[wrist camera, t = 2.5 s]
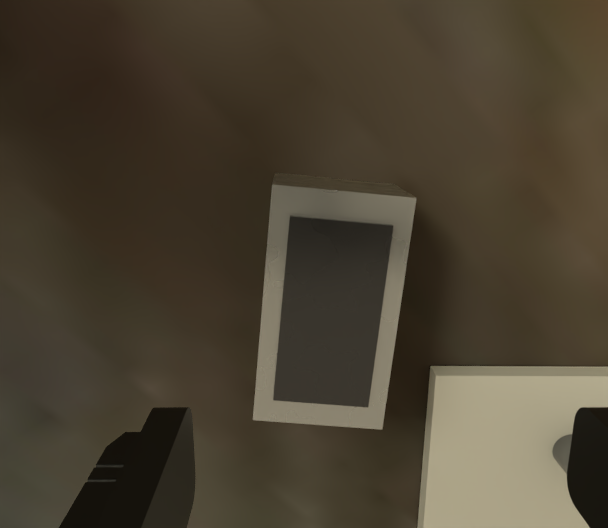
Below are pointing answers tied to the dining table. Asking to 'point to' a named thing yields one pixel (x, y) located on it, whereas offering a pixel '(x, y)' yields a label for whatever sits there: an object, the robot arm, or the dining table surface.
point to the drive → (331, 300)
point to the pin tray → (503, 445)
